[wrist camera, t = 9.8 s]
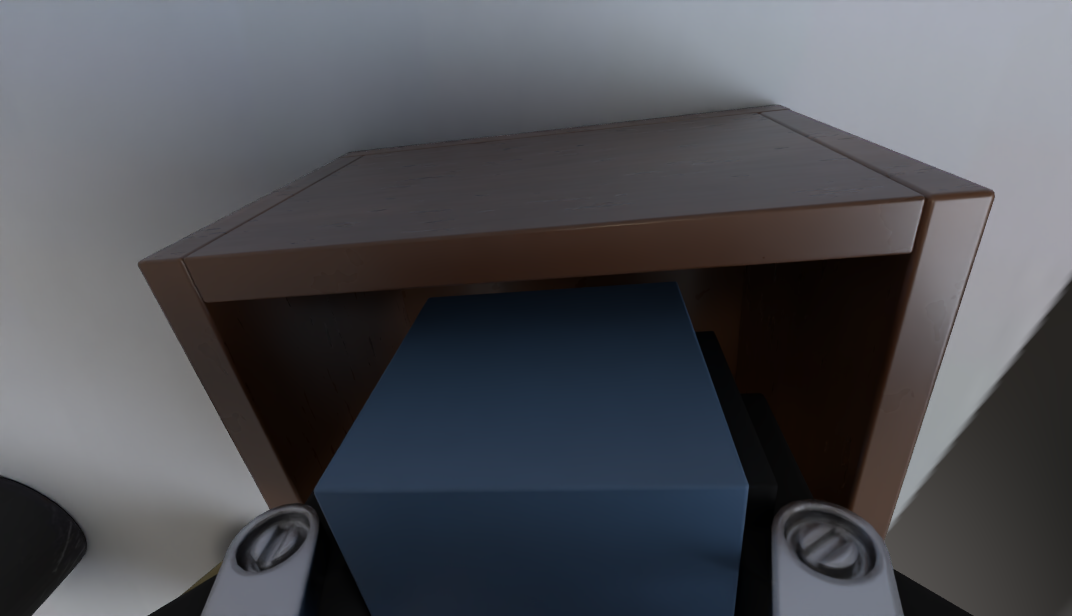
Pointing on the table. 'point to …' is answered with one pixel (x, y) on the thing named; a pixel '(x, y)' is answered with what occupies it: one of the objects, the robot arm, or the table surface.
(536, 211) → the box
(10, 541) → the travel mug
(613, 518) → the block
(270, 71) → the table surface
